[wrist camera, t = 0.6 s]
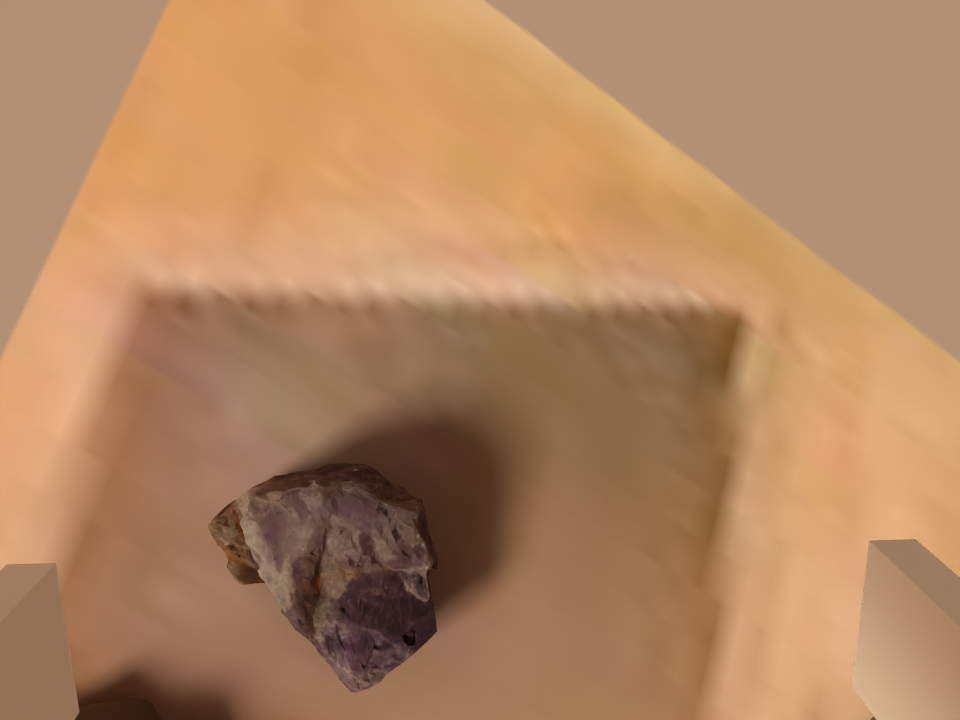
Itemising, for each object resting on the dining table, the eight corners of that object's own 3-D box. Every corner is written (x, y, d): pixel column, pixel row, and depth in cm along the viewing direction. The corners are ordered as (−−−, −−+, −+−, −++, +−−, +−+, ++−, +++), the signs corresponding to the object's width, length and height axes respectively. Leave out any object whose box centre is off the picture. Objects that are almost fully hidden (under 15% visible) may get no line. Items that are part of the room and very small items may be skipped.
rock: (348, 693, 45) (481, 560, 46) (334, 747, 36) (498, 581, 38) (200, 536, 45) (337, 408, 47) (153, 552, 37) (322, 396, 38)
